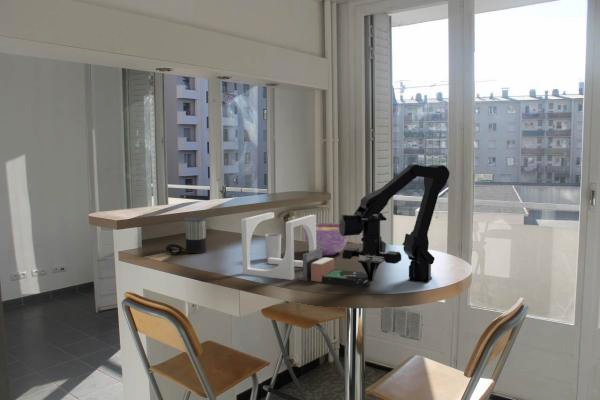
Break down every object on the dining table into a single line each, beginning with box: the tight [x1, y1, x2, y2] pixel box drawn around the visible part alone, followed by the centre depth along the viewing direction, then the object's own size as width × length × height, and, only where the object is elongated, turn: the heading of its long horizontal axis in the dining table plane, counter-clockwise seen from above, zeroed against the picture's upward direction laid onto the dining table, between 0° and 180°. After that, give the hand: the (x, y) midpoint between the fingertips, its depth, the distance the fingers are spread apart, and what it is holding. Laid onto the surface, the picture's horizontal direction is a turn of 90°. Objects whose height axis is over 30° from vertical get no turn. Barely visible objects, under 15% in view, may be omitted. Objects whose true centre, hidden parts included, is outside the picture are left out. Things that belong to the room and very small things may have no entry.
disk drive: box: [321, 269, 375, 288], centre depth 172 cm, size 10×3×15 cm
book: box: [310, 256, 335, 283], centre depth 176 cm, size 4×10×6 cm, turn 150°
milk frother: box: [165, 216, 207, 255], centre depth 221 cm, size 14×16×15 cm
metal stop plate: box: [297, 248, 323, 282], centre depth 178 cm, size 4×12×9 cm, turn 152°
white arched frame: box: [240, 211, 317, 281], centre depth 187 cm, size 20×20×20 cm
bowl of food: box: [302, 222, 349, 256], centre depth 216 cm, size 20×20×12 cm
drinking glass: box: [264, 233, 282, 261], centre depth 206 cm, size 7×7×10 cm
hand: (371, 280), depth 168 cm, fingers closed
